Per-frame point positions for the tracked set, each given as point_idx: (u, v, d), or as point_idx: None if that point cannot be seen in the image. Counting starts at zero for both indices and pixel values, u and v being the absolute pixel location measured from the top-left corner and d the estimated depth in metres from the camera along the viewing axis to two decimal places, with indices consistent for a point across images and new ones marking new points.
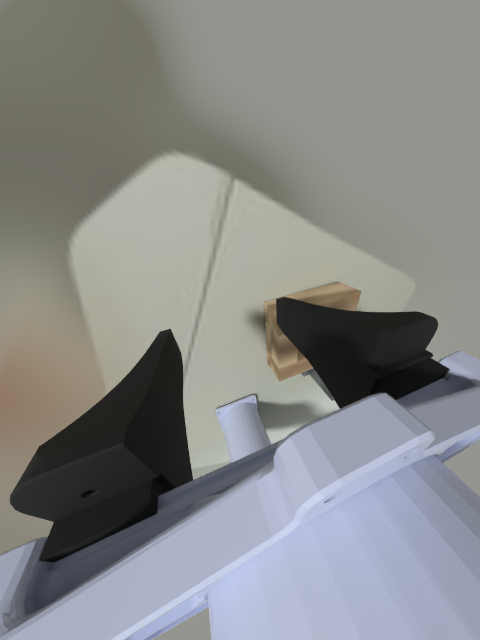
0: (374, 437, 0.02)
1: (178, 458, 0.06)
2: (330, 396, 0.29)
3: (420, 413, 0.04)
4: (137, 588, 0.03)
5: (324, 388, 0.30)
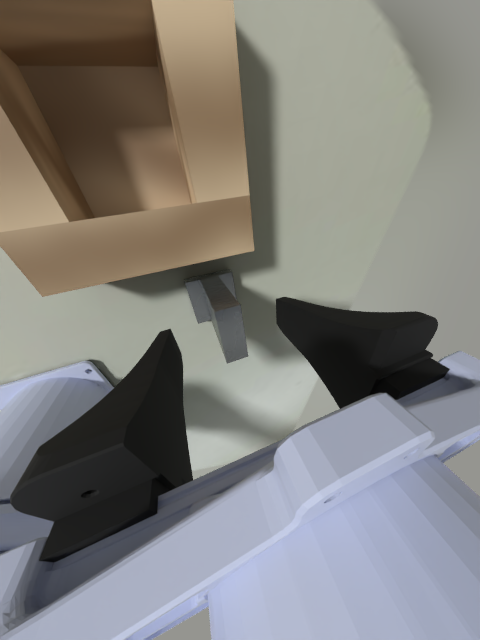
0: (374, 437, 0.02)
1: (178, 458, 0.06)
2: (224, 352, 0.12)
3: (420, 413, 0.04)
4: (137, 588, 0.03)
5: (218, 337, 0.13)
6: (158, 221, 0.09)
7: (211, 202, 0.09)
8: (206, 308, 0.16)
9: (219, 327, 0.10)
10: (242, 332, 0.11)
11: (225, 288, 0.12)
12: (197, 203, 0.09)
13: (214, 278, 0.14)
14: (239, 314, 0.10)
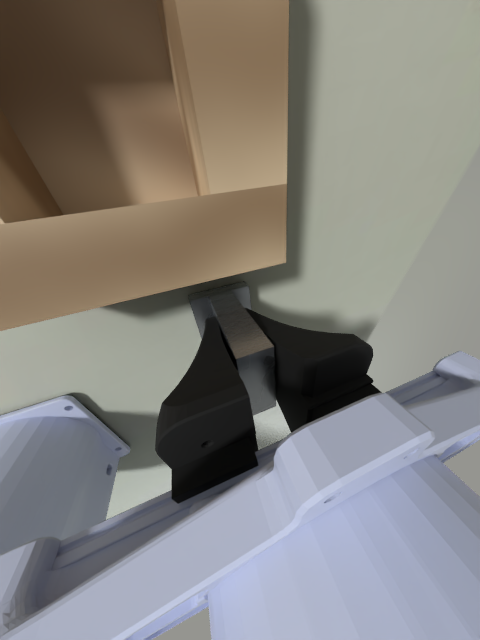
0: (374, 437, 0.02)
1: None
2: None
3: (420, 413, 0.04)
4: (137, 588, 0.03)
5: None
6: (152, 223, 0.06)
7: (231, 193, 0.06)
8: None
9: (241, 377, 0.07)
10: (272, 379, 0.07)
11: (245, 313, 0.09)
12: (211, 195, 0.06)
13: (227, 295, 0.11)
14: (271, 358, 0.07)
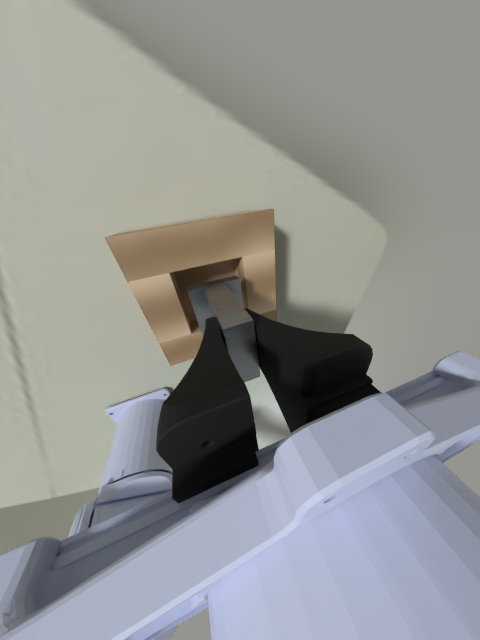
0: (374, 437, 0.02)
1: None
2: None
3: (420, 413, 0.04)
4: (137, 588, 0.03)
5: None
6: None
7: None
8: None
9: (228, 346, 0.08)
10: (254, 350, 0.09)
11: (233, 298, 0.10)
12: None
13: (220, 286, 0.13)
14: (252, 330, 0.08)
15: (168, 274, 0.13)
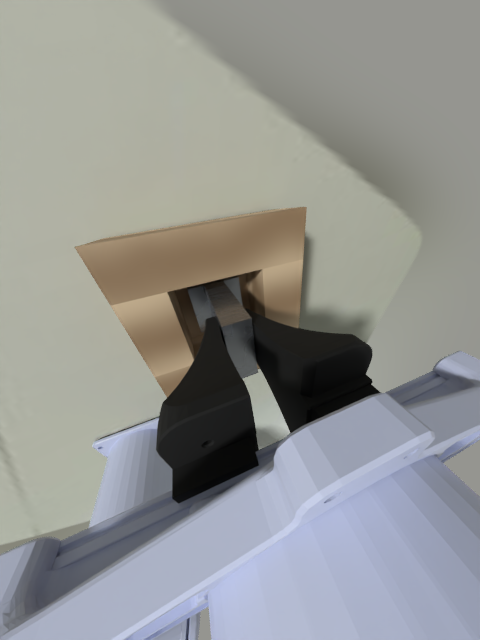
0: (374, 437, 0.02)
1: None
2: None
3: (420, 413, 0.04)
4: (137, 588, 0.03)
5: None
6: None
7: None
8: (210, 316, 0.14)
9: (226, 343, 0.09)
10: (252, 347, 0.09)
11: (232, 296, 0.11)
12: None
13: (219, 284, 0.13)
14: (250, 328, 0.09)
15: (166, 294, 0.10)
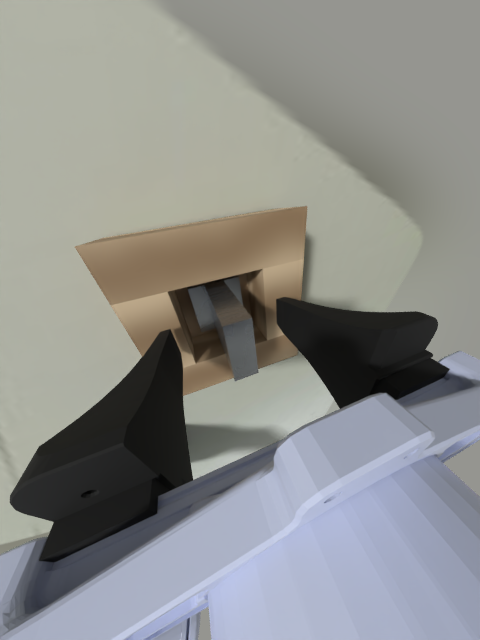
0: (374, 437, 0.02)
1: (178, 458, 0.06)
2: (231, 369, 0.10)
3: (420, 413, 0.04)
4: (137, 588, 0.03)
5: (225, 350, 0.11)
6: None
7: (275, 338, 0.15)
8: (210, 316, 0.14)
9: (227, 342, 0.09)
10: (253, 347, 0.09)
11: (233, 296, 0.11)
12: (267, 340, 0.14)
13: (219, 284, 0.13)
14: (250, 327, 0.09)
15: (166, 293, 0.10)
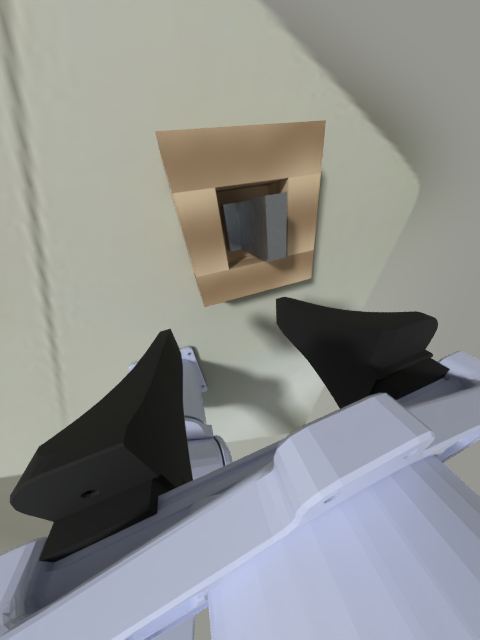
0: (374, 437, 0.02)
1: (178, 458, 0.06)
2: (265, 252, 0.13)
3: (420, 413, 0.04)
4: (137, 588, 0.03)
5: (257, 246, 0.14)
6: (267, 266, 0.17)
7: (294, 255, 0.17)
8: (239, 235, 0.17)
9: (267, 214, 0.11)
10: (284, 226, 0.12)
11: None
12: (287, 256, 0.17)
13: None
14: (285, 203, 0.11)
15: (214, 189, 0.13)
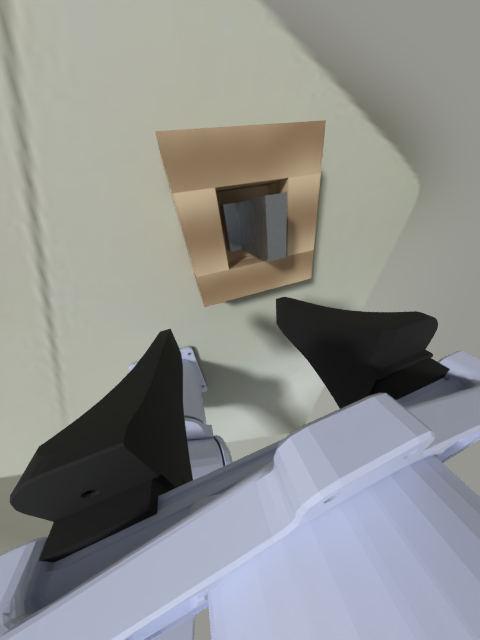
0: (374, 437, 0.02)
1: (178, 458, 0.06)
2: (265, 252, 0.13)
3: (420, 413, 0.04)
4: (137, 588, 0.03)
5: (257, 246, 0.14)
6: (267, 266, 0.17)
7: (294, 255, 0.17)
8: (239, 235, 0.17)
9: (267, 214, 0.11)
10: (284, 226, 0.12)
11: None
12: (287, 256, 0.17)
13: None
14: (285, 203, 0.11)
15: (214, 189, 0.13)
